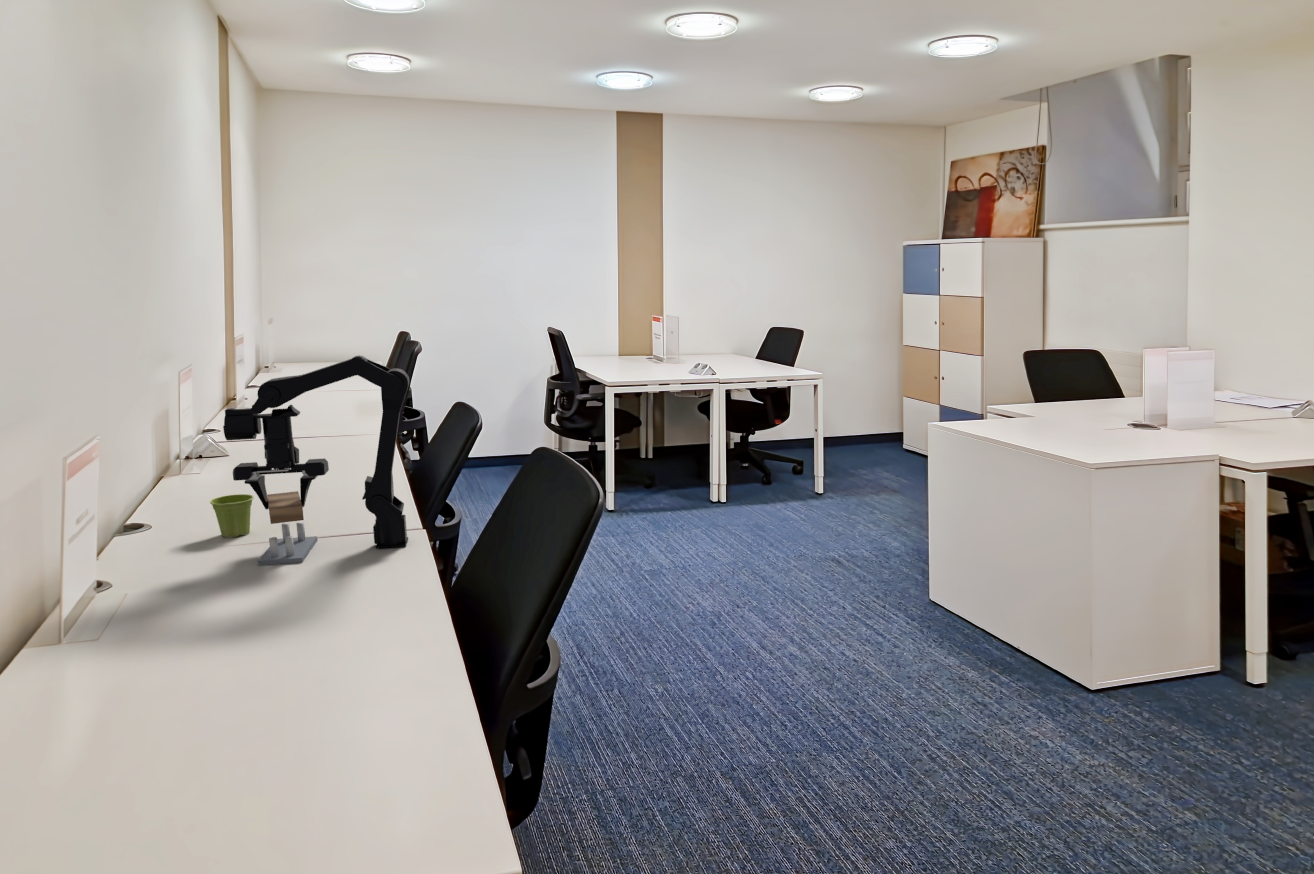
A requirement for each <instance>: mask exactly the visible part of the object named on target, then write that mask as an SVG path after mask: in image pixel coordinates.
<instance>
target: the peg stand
mask: <svg viewBox="0 0 1314 874" xmlns="http://www.w3.org/2000/svg"><path fill="white" fill-rule="evenodd" d="M290 528H291V527H290V522H284V523H281V533H282V538H278V537H277V536H276V537H275V536H273V537H269V538H268V543H269V546H268V548H267V549H266V550H265V551H264V552H263V554H262V555H261V556H260V557H259V558H258V560H257V566H266V565H268V564H271V565H281V564H280V563H285V564H296V563H295V562H300V563H303V562H304V561H305V560H304V559H306V558H307V557H308V555H309V554H310V553H311V551H312V549H313V548H314V547H315V545H316V543H317V542H318V535H317V536H306V529H305V522H303V521H301V522H299V521H297V522H296V533H297V534H296V535H297V537H293V535H291V530H290ZM310 550H311V551H310ZM268 566H269V565H268Z"/></svg>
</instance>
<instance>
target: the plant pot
mask: <svg viewBox="0 0 1314 874" xmlns="http://www.w3.org/2000/svg"><path fill="white" fill-rule="evenodd" d="M254 498H255V497H254V495H252V494H243V493H240V494H228V495H222V496H219V497H215V498H212V499H211V500H209V504H211V506H212V509H213V510H214V512H215V516H216V519H217V523H218V526H219V530H220V534H221V536H222V537H224V538H227V537H228V538H237V537H240V536H246V535H248V534H250V531H251V530H250V529H251V510H252V509H251V507H252V505H253V500H254ZM245 534H246V535H245Z"/></svg>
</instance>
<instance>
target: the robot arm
mask: <svg viewBox="0 0 1314 874" xmlns="http://www.w3.org/2000/svg"><path fill="white" fill-rule="evenodd" d="M355 376H357V377H360V378H362V379H364V380H366V381H368V382H370V383H371V384H373V385H375V386H377V387H380V391H381V392H380V393H381V394H380V396H381V405H382V406H381V407H382V416H381V420H380V421H381V424H380V431H379V437H378V438H379V439H378V445H377V446H378V447H377V453H376V459H375V466H374V467H375V468H374V473H373V476H370V475H367V476H366V478H365V481H364V493H363V496H362V499H361V500H363V501H364V500H365V501H364V503H365V508H366V509H367V510H368V512H370V513H371V514H373V515H374V516H375V520H374V522H375V523H374V524H373V528H372V529H373V544H375V549H388V548H402V547H406V546H407V544H408V541H409V537H408V532H407V520H406V514H403V512H404V509H405V508H404V506H405V503H404V502H403V501H401V500H400V499H399V498H398V497H397V496H396V495H394V494H395V493H394V492H395V491H394V478H393V467H394V459H395V451H396V444H397V439H398V430H399V423H400V416H401V410H402V407H403V403H404V402H405V398H406V395H407V392H408V389H409V386H410V382H411V380H410V377H409V375H408V374H407V372H406V371H405V370H403V369H401V368H396V367H395V368H393V367H392V368H389V367H387V366H385V365H383V364H381V363H378V362H375V361H372V360H370V359H368V358H367V357H365V356H364V355H355V356H353V357H352V358H349V359H347V360H342V361H340V362H337V363H334V364H330V365H329V366H325V367H322V368H318V369H315V370H313V371H310V372H306V373H303V374H299V375H291V376H281V377H276V378H271V379H269V380H267V381H264V382H262V383H261V384H260V386H259V388H258V389H257V395H256V396H257V399H256V401H255V402H254V404H252V405H251V407H249V408H248V407H247V408H246V407H245V408H232V407H228V408H226V409H225V410H224V420H223V421H224V422H223V423H224V425H223V426H222V427H223V435H224V437H225V441H241V440H242V441H243V440H256V439H257V436H258V435H260V434H261V433H262V430H263V440H264V445H263V449H264V459H265V461H266V463H265V465H259V463H258V462H256V461H253V462H240V463H239V464H238V465H235V467H234V468H233V470H232V477H233V481H244V484H246V485H249V486H250V487H251V488H252V489H253V491H254V492H255V494H256V495H257V497H258V498H259V500H260V502H261V504H262V505H263V507H264V509H265V510H269V505H268V497H267V495H268V494H267V493H268V492H267V489H266V477H265V475H275V474H276V475H277V474H278V475H279V474H293V473H294V474H295V473H301V474H302V476H301V477H300V478H299V486H300V489H299V490H300V491H299V492H300V493H299V495H300V500H301V503H302V507H303V508H304V507H306V506H305V505H306V501H307V497H308V493H309V490H310V486H311V484H312V481H314V480H316V479H317V477H319V476H325V475H326V474H327V473H328V472H329V469H330V468H329V461H328V460H327V459H326V458H309V459H308V460H307V461H306V462H305V463H300V448H298V447H296V445H295V442H294V437H293V430H292V429H293V427H292V417H295V418H296V417H298V416H299V415H301V411H299V409H297V408H295V406H294V405H293V404H290V405H288V407H287V408H278V407H281V406H283V405H284V404H286V403H288V402H290V401H292V400H293V399H296V398H297V397H299V396H302V394H305V393H306V392H310V391H313V390H315V389H320V388H322V387H324V386H328V385H331V384H333V383H337V382H340V381H343V380H346V379H349V378H352V377H355ZM267 409H272V411H271V413H263V412H264V411H266V410H267Z"/></svg>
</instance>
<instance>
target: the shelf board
mask: <svg viewBox="0 0 1314 874" xmlns="http://www.w3.org/2000/svg"><path fill="white" fill-rule="evenodd" d="M267 498H268V505H269V508H268V511H269V512H268V513H269V519H270V525H274V524H275V525H276V524H283V523H290V522H299V521H304V507H302V503H301V495H300V493H299V491H298V490H297V491H288V492H280V493H269V494H267Z"/></svg>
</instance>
